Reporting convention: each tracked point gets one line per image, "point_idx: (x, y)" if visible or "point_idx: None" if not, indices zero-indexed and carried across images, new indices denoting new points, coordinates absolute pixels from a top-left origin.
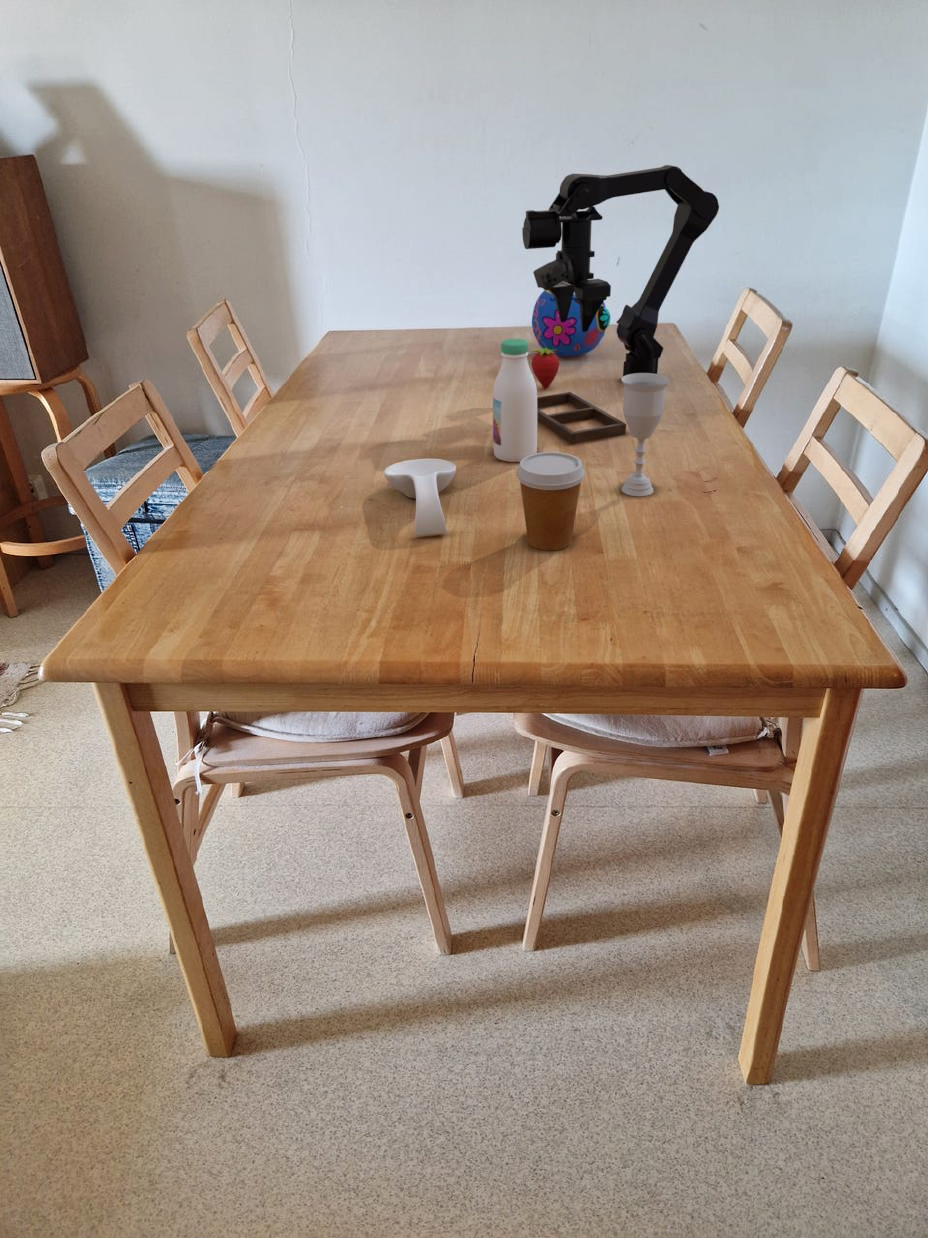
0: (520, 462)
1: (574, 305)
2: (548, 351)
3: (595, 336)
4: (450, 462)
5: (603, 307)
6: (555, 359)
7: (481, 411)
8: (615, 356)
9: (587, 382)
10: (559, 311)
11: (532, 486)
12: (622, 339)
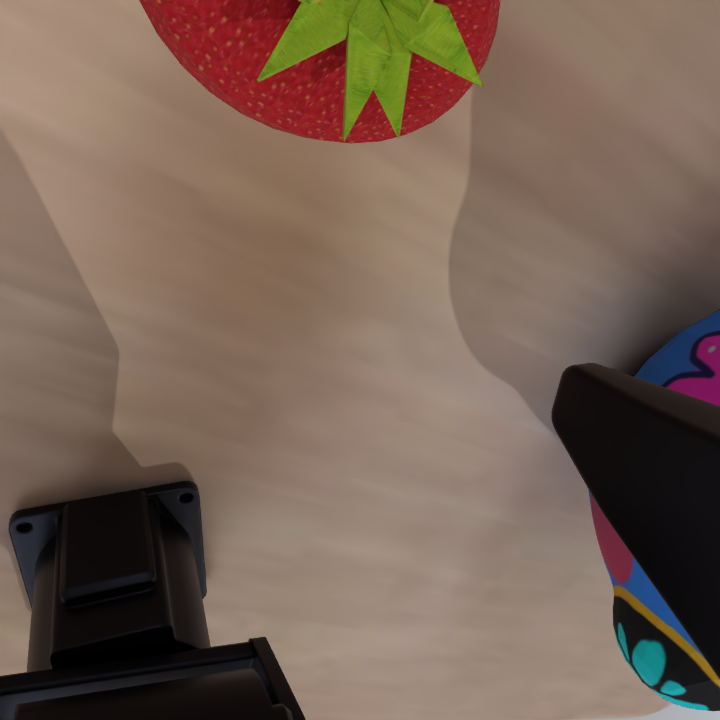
0: None
1: None
2: (330, 8)
3: (604, 546)
4: None
5: (710, 707)
6: (202, 41)
7: None
8: (523, 545)
9: (254, 316)
10: (703, 428)
11: None
12: (148, 706)
